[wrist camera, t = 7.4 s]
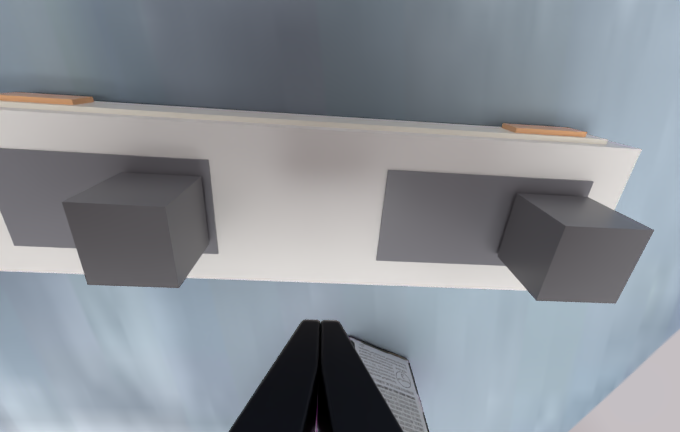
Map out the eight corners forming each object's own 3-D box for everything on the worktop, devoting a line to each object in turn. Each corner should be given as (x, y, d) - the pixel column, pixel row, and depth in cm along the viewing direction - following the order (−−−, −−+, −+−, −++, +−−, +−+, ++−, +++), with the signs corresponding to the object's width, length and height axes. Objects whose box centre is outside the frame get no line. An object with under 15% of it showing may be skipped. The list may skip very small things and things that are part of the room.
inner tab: (208, 244, 14) (179, 287, 11) (136, 241, 14) (87, 284, 11) (201, 176, 13) (165, 206, 10) (121, 172, 12) (61, 201, 10)
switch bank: (540, 259, 18) (578, 293, 16) (46, 238, 17) (-11, 271, 14) (590, 126, 15) (648, 139, 13) (-8, 87, 14) (-93, 92, 11)
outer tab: (562, 259, 15) (615, 303, 12) (497, 256, 14) (536, 300, 12) (587, 197, 13) (653, 230, 11) (516, 193, 13) (565, 226, 10)
